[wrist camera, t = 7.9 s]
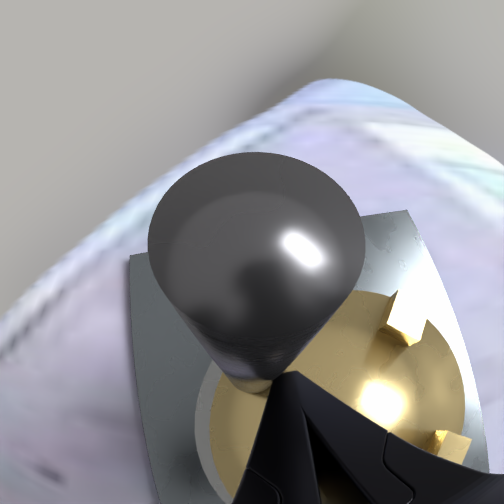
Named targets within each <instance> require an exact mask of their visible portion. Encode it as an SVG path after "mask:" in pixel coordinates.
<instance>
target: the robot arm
mask: <svg viewBox="0 0 504 504" xmlns="http://www.w3.org/2000/svg"><path fill="white" fill-rule="evenodd" d="M231 504H504V474H491V473H486V472H482V471H478V470H475V469H472V468H469V467H466V466H463V465H461V464H458V463H455V462H452V461H449V460H447V459H444V458H441V457H439V456H436V455H434V454H432V453H429V452H427V451H425V450H423V449H420V448H418V447H416V446H414V445H413V444H411V443H409V442H407V441H405V440H403V439H402V438H400V437H398V436H396V435H395V434H393V433H391V432H388V430H386V429H385V428H383V427H381V426H380V425H378V424H377V423H375V422H373V421H372V420H370V419H369V418H367V417H365V416H364V415H362V414H361V413H359V412H358V411H356V410H354V409H353V408H351V407H350V406H348V405H347V404H345V403H344V402H342V401H341V400H339V399H338V398H336V397H335V396H333V395H332V394H330V393H329V392H327V391H326V390H324V389H323V388H322V387H320V386H319V385H317V384H316V383H314V382H313V381H311V380H310V379H309V378H307V377H306V376H304V375H303V374H301V373H300V372H299V371H296V370H294V371H289V372H284V373H282V374H281V375H280V376H278V377H277V378H275V379H274V380H272V384H271V387H270V391H269V394H268V397H267V401H266V404H265V408H264V411H263V414H262V418H261V421H260V424H259V427H258V431H257V434H256V437H255V440H254V443H253V447H252V450H251V453H250V456H249V459H248V462H247V465H246V469H245V470H244V473H243V476H242V479H241V482H240V484H239V487H238V489H237V492H236V494H235V497H234V499H233V501H232V503H231Z"/></svg>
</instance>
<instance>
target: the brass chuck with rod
mask: <svg viewBox="0 0 504 504" xmlns="http://www.w3.org/2000/svg"><path fill="white" fill-rule="evenodd" d="M148 255H149V261H150V265H151V268H152V271H153V274H154V277H155V279H156V281H157V283H158V284H159V286H160V288H161V290H162V291H163V293H164V294H165V295H166V297H167V298H168V300H169V301H170V303H171V304H172V305H173V307H174V308H175V310H176V311H177V313H178V314H179V315H180V317H181V318H182V319H183V321H184V322H185V324H186V325H187V326H188V328H189V329H190V330H191V332H192V333H193V334H194V336H195V337H196V338H197V340H198V341H199V342H200V344H201V345H202V346H203V348H204V349H205V350H206V352H207V353H208V354H209V355H210V357H211V358H212V359H213V360H214V362H215V363H216V364H217V366H218V367H219V368H220V369H221V371H222V372H223V373H222V375H221V378H220V380H219V383H218V385H217V388H216V390H215V394H214V398H213V402H212V406H211V413H210V424H209V432H210V446H211V451H212V456H213V461H214V464H215V467H216V469H217V472H218V474H219V477H220V479H221V481H222V483H223V485H224V486H225V488H226V490H227V491H228V493H229V494H230V496H231V497H232V498H233V499H234V497H235V494H236V492H237V489H238V487H239V484H240V482H241V479H242V476H243V473H244V470H245V469H246V465H247V462H248V459H249V456H250V453H251V450H252V447H253V443H254V440H255V437H256V434H257V431H258V427H259V424H260V421H261V418H262V414H263V411H264V408H265V404H266V401H267V397H268V394H269V391H270V387H271V384H272V380H274V379H275V378H277V377H278V376H280V375H281V374H282V373H284V372H289V371H294V370H296V371H299V372H300V373H301V374H303V375H304V376H306V377H307V378H309V379H310V380H311V381H313V382H314V383H316V384H317V385H319V386H320V387H322V388H323V389H324V390H326V391H327V392H329V393H330V394H332V395H333V396H335V397H336V398H338V399H339V400H341V401H342V402H344V403H345V404H347V405H348V406H350V407H351V408H353V409H354V410H356V411H358V412H359V413H361V414H362V415H364V416H365V417H367V418H369V419H370V420H372V421H373V422H375V423H377V424H378V425H380V426H381V427H383V428H385V429H386V430H388V432H391V433H393V434H395V435H396V436H398V437H400V438H402V439H403V440H405V441H407V442H409V443H411V444H413V445H414V446H416V447H418V448H420V449H423V450H425V451H427V452H429V453H432V454H434V455H436V456H439V457H441V458H444V459H447V460H449V461H452V462H455V463H458V464H461V465H462V462H463V460H464V458H465V455H466V453H467V451H468V448H469V446H470V443H471V441H472V439H470V438H467V437H464V436H461V433H462V429H463V424H464V415H465V393H464V385H463V380H462V376H461V372H460V368H459V365H458V363H457V360H456V358H455V355H454V353H453V351H452V349H451V348H450V346H449V344H448V342H447V341H446V339H445V338H444V337H443V335H442V334H441V332H440V331H439V330H438V329H437V328H436V327H435V326H434V325H433V324H432V323H431V321H430V320H428V319H427V314H428V311H429V307H430V305H428V304H426V303H424V302H422V301H420V300H419V299H417V298H415V297H413V296H411V295H409V294H407V293H406V292H404V291H402V290H400V289H398V290H397V291H396V292H395V293H394V294H393V295H392V296H391V297H389V296H386V295H383V294H379V293H374V292H368V291H361V290H353V289H354V287H355V285H356V283H357V281H358V279H359V277H360V274H361V271H362V268H363V264H364V258H365V234H364V228H363V225H362V221H361V218H360V216H359V213H358V211H357V209H356V207H355V205H354V204H353V202H352V201H351V199H350V197H349V196H348V195H347V194H346V192H345V191H344V190H343V189H342V188H341V187H340V186H339V185H338V184H337V183H336V182H335V181H334V180H333V179H332V178H330V177H329V176H328V175H326V174H325V173H324V172H322V171H320V170H319V169H317V168H315V167H314V166H312V165H310V164H307V163H305V162H303V161H300V160H298V159H295V158H292V157H288V156H284V155H280V154H273V153H263V152H247V153H238V154H231V155H227V156H223V157H219V158H216V159H213V160H210V161H208V162H206V163H204V164H201V165H199V166H198V167H196V168H194V169H192V170H191V171H189V172H188V173H186V174H185V175H184V176H182V177H181V178H180V179H179V180H178V181H177V182H175V183H174V184H173V185H172V186H171V187H170V189H169V190H168V191H167V192H166V193H165V195H164V196H163V198H162V199H161V201H160V202H159V204H158V206H157V208H156V210H155V212H154V214H153V217H152V220H151V223H150V227H149V233H148Z"/></svg>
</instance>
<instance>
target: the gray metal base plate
mask: <svg viewBox="0 0 504 504" xmlns="http://www.w3.org/2000/svg"><path fill="white" fill-rule="evenodd" d="M360 218H361V221H362V225H363V228H364V234H365V258H364V264H363V268H362V271H361V274H360V277H359V279H358V281H357V283H356V285H355V287H354V289H353V290H361V291H368V292H374V293H379V294H383V295H386V296H389V297H391V296H392V295H393V294H394V293H395V292H396V291H397V290H398V289H400V290H402V291H404V292H406V293H407V294H409V295H411V296H413V297H415V298H417V299H419V300H420V301H422V302H424V303H426V304H428V305H430V307H429V311H428V314H427V319H428V320H430V321H431V323H432V324H433V325H434V326H435V327H436V328H437V329H438V330H439V331H440V332H441V334H442V335H443V337H444V338H445V339H446V341H447V342H448V344H449V346H450V348H451V349H452V351H453V353H454V355H455V358H456V360H457V363H458V365H459V368H460V372H461V376H462V380H463V385H464V393H465V415H464V424H463V429H462V433H461V436H464V437H467V438H470V439H472V441H471V443H470V446H469V448H468V451H467V453H466V455H465V458H464V460H463V462H462V465H463V466H466V467H469V468H472V469H475V470H478V471H482V472H486V473H489V462H488V453H487V444H486V437H485V430H484V424H483V418H482V413H481V408H480V403H479V398H478V394H477V389H476V385H475V381H474V377H473V373H472V369H471V365H470V362H469V358H468V355H467V351H466V348H465V345H464V342H463V339H462V335H461V332H460V329H459V326H458V324H457V321H456V318H455V315H454V312H453V310H452V307H451V304H450V302H449V299H448V297H447V294H446V291H445V289H444V287H443V284H442V282H441V279H440V277H439V275H438V272H437V270H436V268H435V266H434V263H433V261H432V259H431V257H430V255H429V252H428V250H427V248H426V246H425V244H424V242H423V240H422V238H421V236H420V234H419V232H418V230H417V228H416V226H415V224H414V222H413V220H412V218H411V216H410V215H409V213H408V211H407V210H403V211H396V212H389V213H382V214H375V215H368V216H362V217H360ZM130 306H131V326H132V341H133V353H134V364H135V373H136V382H137V390H138V397H139V404H140V411H141V417H142V423H143V429H144V434H145V440H146V445H147V450H148V455H149V459H150V464H151V468H152V473H153V477H154V481H155V485H156V489H157V493H158V496H159V500H160V504H231V503H232V501H233V498H232V497H231V496H230V494H229V493H228V491H227V490H226V488H225V486H224V485H223V483H222V481H221V479H220V477H219V474H218V472H217V469H216V467H215V464H214V461H213V456H212V451H211V446H210V432H209V424H210V413H211V406H212V402H213V398H214V394H215V390H216V388H217V385H218V383H219V380H220V378H221V375H222V373H223V372H222V371H221V369H220V368H219V367H218V366H217V364H216V363H215V362H214V360H213V359H212V358H211V357H210V355H209V354H208V353H207V352H206V350H205V349H204V348H203V346H202V345H201V344H200V342H199V341H198V340H197V338H196V337H195V336H194V334H193V333H192V332H191V330H190V329H189V328H188V326H187V325H186V324H185V322H184V321H183V319H182V318H181V317H180V315H179V314H178V313H177V311H176V310H175V308H174V307H173V305H172V304H171V303H170V301H169V300H168V298H167V297H166V295H165V294H164V293H163V291H162V290H161V288H160V286H159V284H158V283H157V281H156V279H155V277H154V274H153V271H152V268H151V265H150V261H149V255H148V252H146V253H140V254H135V255H130Z"/></svg>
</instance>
